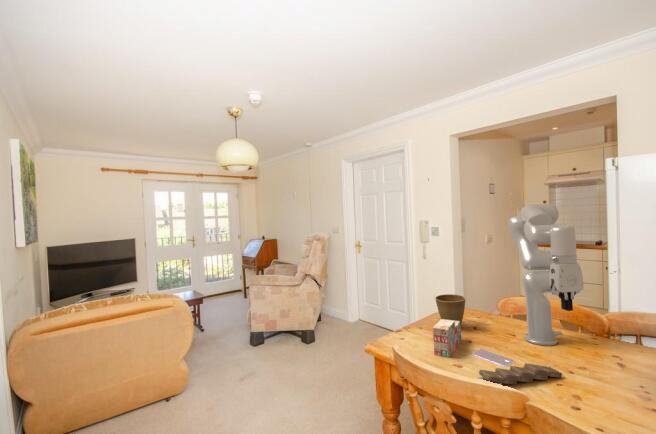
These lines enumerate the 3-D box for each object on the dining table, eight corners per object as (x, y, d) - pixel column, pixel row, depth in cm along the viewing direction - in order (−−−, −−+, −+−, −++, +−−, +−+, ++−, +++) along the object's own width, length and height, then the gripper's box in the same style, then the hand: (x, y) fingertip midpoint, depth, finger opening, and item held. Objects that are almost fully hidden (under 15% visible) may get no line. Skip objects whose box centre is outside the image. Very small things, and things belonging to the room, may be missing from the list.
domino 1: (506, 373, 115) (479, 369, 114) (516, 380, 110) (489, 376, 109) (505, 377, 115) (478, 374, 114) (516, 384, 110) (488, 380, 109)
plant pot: (445, 321, 178) (443, 292, 178) (472, 327, 167) (470, 296, 167) (431, 328, 168) (429, 298, 168) (459, 335, 157) (457, 303, 157)
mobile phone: (481, 348, 140) (516, 360, 127) (481, 350, 140) (516, 362, 127) (470, 352, 136) (505, 365, 123) (470, 355, 136) (505, 368, 123)
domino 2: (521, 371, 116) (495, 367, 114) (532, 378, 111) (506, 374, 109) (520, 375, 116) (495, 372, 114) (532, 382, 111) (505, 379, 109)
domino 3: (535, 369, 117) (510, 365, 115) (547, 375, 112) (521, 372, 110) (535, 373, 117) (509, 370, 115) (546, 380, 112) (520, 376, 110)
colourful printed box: (448, 338, 154) (446, 313, 155) (461, 340, 151) (460, 314, 151) (434, 355, 137) (432, 326, 137) (449, 358, 134) (447, 329, 134)
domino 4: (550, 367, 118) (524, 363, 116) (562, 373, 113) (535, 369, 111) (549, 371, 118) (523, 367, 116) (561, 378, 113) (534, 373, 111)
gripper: (554, 262, 112) (557, 314, 112) (591, 259, 113) (595, 310, 113) (537, 260, 119) (540, 308, 119) (573, 257, 121) (576, 305, 121)
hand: (567, 309), depth 116 cm, fingers closed
